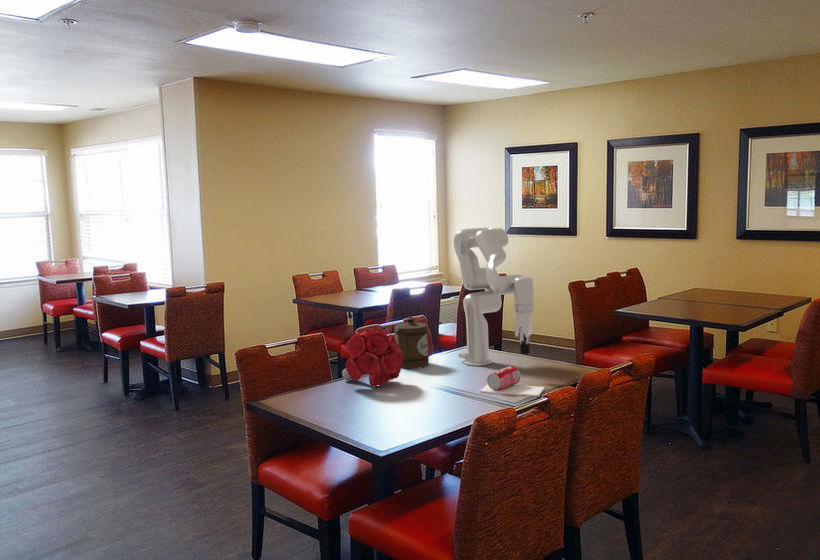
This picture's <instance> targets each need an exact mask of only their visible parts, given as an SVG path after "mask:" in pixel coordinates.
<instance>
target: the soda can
mask: <svg viewBox="0 0 820 560" xmlns="http://www.w3.org/2000/svg"><path fill="white" fill-rule="evenodd" d="M486 381H487V384H488V385H489V387H490V388H491V389H493V390H501V389H503V388H506V387H509V386H511V385H518V383H519V382H520V381H521V372H520V370H519V369H518V368H517V367H516V366H514V365H508V366H507V367H504V368H501V369H498V370H494V371H492V372H491V373H490V374H488V375H487V379H486Z"/></svg>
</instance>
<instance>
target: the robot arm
mask: <svg viewBox="0 0 820 560" xmlns="http://www.w3.org/2000/svg"><path fill="white" fill-rule="evenodd" d="M508 244H509V235H508V233H507V231H506V230H505V229H503V228H500V227H498V228H497V227H476V228H473V227H471V228H463V229H460V230H458V231H456V233H455V234H454V237H453V248H454V252H455V254H456V257H457V259H458V262H459V269H460V273H461V274H460V275H461V280H462V283H463V286H464V289H466V290H469V291H475V290H484V291H479V292H471V293H469V294H467V295H465V297H463V300H462V301H463V302H462V303H463V309H464V313H465V323H466V324H465V325H466V326H465V327H466V349H467V350H466V352H459V353H458V357H459V358H460V359H464V360H463V361H464V362H463V363H464V365H466V366H467V365H468V366H472V367H473V366H475V367H480V366H481V367H482V366H483V367H484V366H488V365H491V364H492V363H493V359H492V358H490V354H489V353H490V352H489V325H488V321H487V319H486V317H485V316H484V315H483V314H487V313H488V314H489V313H497V312H498V311H500V310H501V308H502V304H503V302H502V295H504V296H505V295H514V296H513V297H514V299H513V300H514V303H513V304H514V313H515V321H514V322H515V323H514V324H515V325H514V327H515V329H514V337H515V338H519V341H520V342H519V343H520V344H519V345H520V354H521V355H529V354H530V336H531V335H532V334H533V313H534V312H535V309H534V307H535V305H534V304H535V303H534V301H535V299H534V280H533V278H532V277H531V276H524V275H522V274H509V275H499V273H498V272H497V270H496V268H497V267H499V266H500V265H501V264H503V263H504V262H505V260H506V259H507V253H506V251H505V250H504V248H505V247H506V246H507V245H508ZM472 248H478V249H479V250H480V252H481V253H482V255H483V257H484V259H485V261H486V262H487V264H486V266H485V267H481V266H480V262H479V257H478V256H477V254H476V253H475V252H474V251H473V250H472Z"/></svg>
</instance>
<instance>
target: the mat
mask: <svg viewBox="0 0 820 560" xmlns="http://www.w3.org/2000/svg"><path fill="white" fill-rule="evenodd" d="M543 391H545V386H533V385H532V386H531V385H522V384H521V385H519V384H514V385H511V386H509V387H506V388H503V389H501V390H493V389H491V388H490V387H489V385H488V383H487V384H486V385H485V386H484V387H483V388H481V389H480V390H479V392H480V393H486V394H495V395H496V394H498V395H512V396H523V395H526V397H537V396H538V397H540V395H541V394H542V393H543Z"/></svg>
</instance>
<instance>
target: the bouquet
mask: <svg viewBox="0 0 820 560" xmlns="http://www.w3.org/2000/svg"><path fill="white" fill-rule="evenodd" d="M343 350H344V351H345V352H346V353H349V356H350V357H348V359H347V360H346V361H345V368H344V369H343V370H342V371H341V374H342V377H343V379H344V380H345V381H351V380H353V381H354V382H357V381H358V380H360V378H361V377H362V376H363V375H364V373H366V374H367V375H368V381H369V385H370V387H372V388H373V386H377V385H382V386H383V385H384V384H385V383H388V382H389V381H392V380H394V379H398V378H399V377H400V374H401V371H402V369H403V368H402V360H403V355H400V354H401V353H403V352H401V350H400V349H399V345H398V344H397V343H396V340H395V336H393V335H390V334H389V335H388V331H387V330H373V329H367V330H364V331H362V332H361V333H359V331H355V332H354V333H353V334H352V336H351V337H350V338H349V339H348V340H347V341H346V343H345V346H344V349H343ZM346 379H347V380H346ZM350 379H351V380H350Z"/></svg>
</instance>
